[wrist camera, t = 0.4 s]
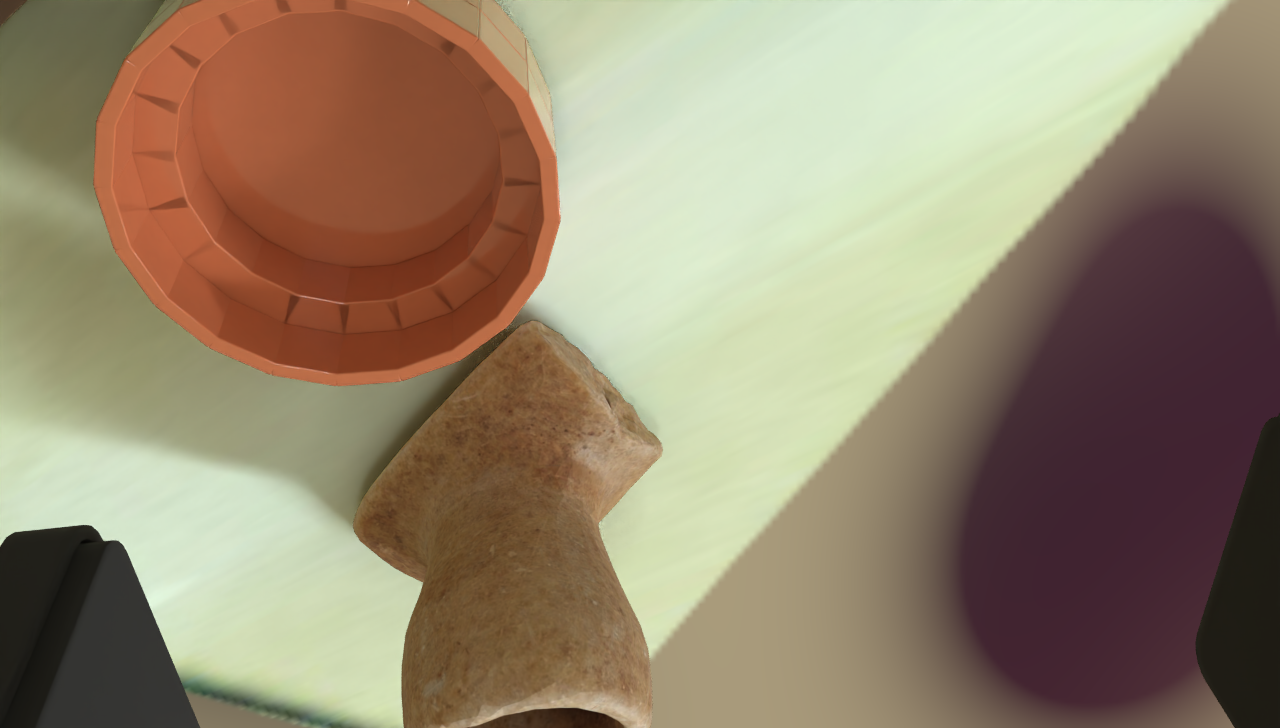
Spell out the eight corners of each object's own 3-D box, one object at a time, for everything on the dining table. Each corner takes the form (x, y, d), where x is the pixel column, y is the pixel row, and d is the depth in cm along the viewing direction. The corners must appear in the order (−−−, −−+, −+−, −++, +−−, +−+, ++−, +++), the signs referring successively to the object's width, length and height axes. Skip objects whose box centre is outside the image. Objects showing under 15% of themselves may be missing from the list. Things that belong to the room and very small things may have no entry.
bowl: (49, 105, 43) (-8, 179, 38) (350, -174, 39) (328, -131, 34) (352, 361, 51) (337, 450, 46) (631, 153, 46) (647, 226, 42)
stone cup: (521, 609, 61) (528, 882, 48) (322, 506, 55) (274, 783, 43) (726, 426, 55) (792, 682, 43) (526, 290, 50) (536, 540, 37)
